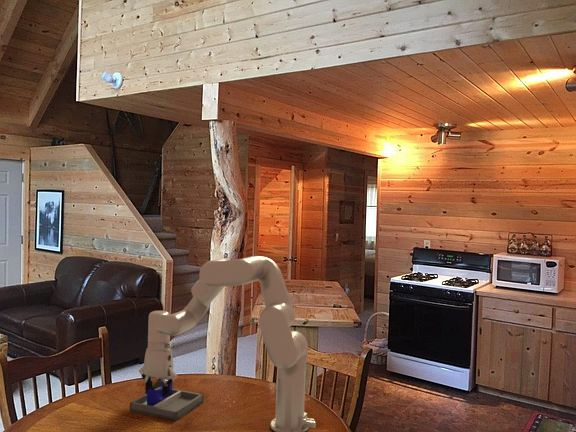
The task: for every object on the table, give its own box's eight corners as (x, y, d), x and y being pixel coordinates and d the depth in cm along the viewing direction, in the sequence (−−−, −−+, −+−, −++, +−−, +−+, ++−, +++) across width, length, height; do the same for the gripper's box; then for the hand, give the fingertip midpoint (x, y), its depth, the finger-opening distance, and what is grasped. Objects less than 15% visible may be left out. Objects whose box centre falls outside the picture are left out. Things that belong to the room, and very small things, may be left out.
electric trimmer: (146, 394, 194) (146, 386, 194) (160, 380, 209) (161, 373, 209) (156, 395, 193) (156, 387, 193) (169, 381, 209) (169, 373, 209)
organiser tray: (203, 402, 186) (203, 394, 186) (175, 421, 170) (175, 412, 169) (160, 394, 193) (160, 386, 193) (129, 411, 176) (129, 402, 176)
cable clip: (161, 395, 189) (161, 379, 189) (171, 396, 188) (172, 380, 188) (143, 406, 178) (143, 389, 178) (154, 408, 177) (154, 391, 177)
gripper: (184, 346, 183) (183, 394, 183) (145, 340, 189) (144, 387, 190) (172, 351, 176) (171, 402, 176) (132, 345, 182) (131, 394, 183)
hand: (157, 394), depth 183 cm, fingers open, 6 cm apart
